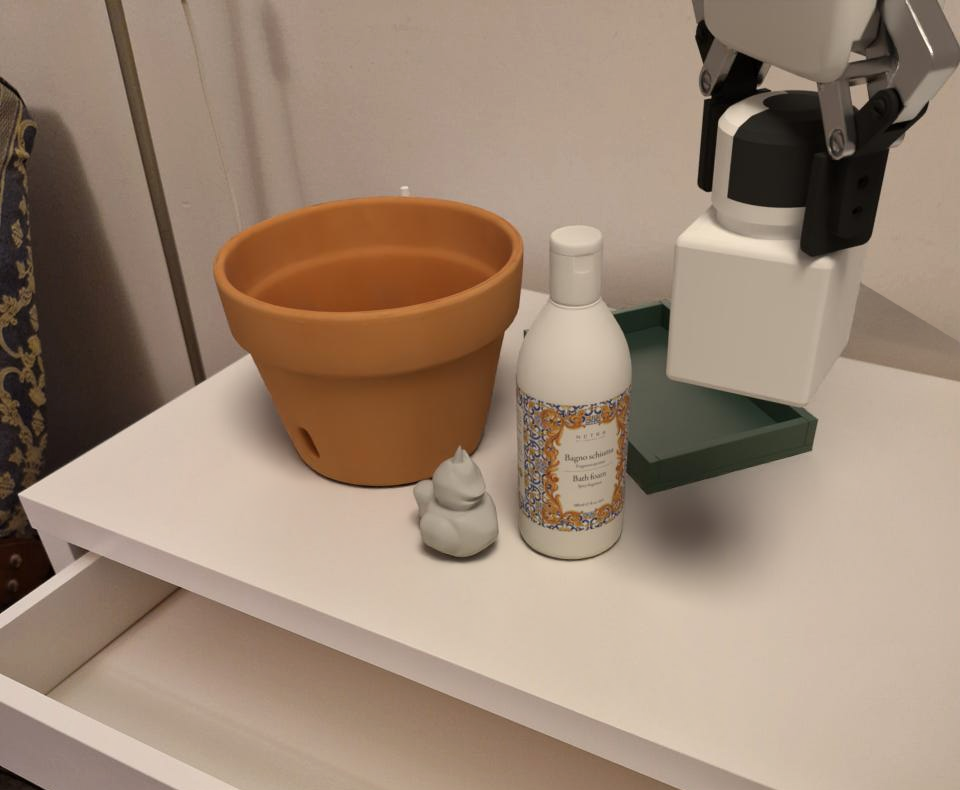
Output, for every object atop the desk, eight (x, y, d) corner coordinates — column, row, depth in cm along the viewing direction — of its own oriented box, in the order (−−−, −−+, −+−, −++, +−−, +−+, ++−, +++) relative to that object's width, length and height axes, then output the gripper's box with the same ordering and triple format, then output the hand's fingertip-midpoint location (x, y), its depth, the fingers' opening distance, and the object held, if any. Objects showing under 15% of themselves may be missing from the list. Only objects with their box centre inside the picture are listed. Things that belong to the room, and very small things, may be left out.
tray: (664, 326, 90) (666, 298, 88) (812, 450, 74) (818, 419, 72) (523, 358, 86) (523, 329, 85) (647, 494, 71) (649, 463, 69)
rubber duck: (467, 582, 64) (459, 477, 59) (393, 544, 68) (380, 442, 62) (520, 541, 67) (517, 437, 62) (447, 507, 71) (438, 406, 65)
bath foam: (535, 571, 65) (531, 267, 51) (508, 511, 70) (498, 220, 56) (636, 552, 66) (659, 249, 52) (603, 494, 71) (616, 204, 57)
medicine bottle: (849, 344, 51) (901, 85, 43) (805, 411, 47) (855, 137, 39) (715, 319, 54) (741, 72, 46) (663, 380, 50) (680, 119, 41)
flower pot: (371, 349, 89) (349, 174, 79) (577, 410, 80) (581, 220, 70) (198, 463, 76) (145, 272, 66) (417, 550, 67) (395, 344, 57)
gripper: (1156, -344, 28) (980, 269, 40) (799, -320, 40) (746, 145, 52) (933, -323, 26) (820, 309, 39) (631, -305, 39) (617, 172, 51)
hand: (778, 212), depth 45 cm, fingers closed on medicine bottle, 7 cm apart
